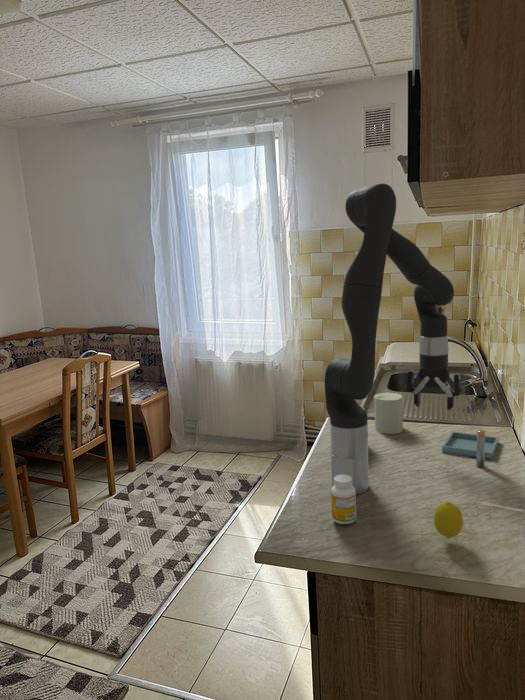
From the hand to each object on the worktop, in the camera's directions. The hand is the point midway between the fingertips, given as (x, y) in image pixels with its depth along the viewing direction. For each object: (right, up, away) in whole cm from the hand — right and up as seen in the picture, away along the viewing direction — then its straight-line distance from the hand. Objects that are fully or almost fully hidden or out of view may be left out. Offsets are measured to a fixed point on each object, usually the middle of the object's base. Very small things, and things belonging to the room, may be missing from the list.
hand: (433, 407), depth 144 cm
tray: (+13, -12, +6) cm, 19 cm away
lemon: (-10, -22, -39) cm, 46 cm away
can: (-7, -10, +24) cm, 27 cm away
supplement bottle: (-30, -22, -29) cm, 47 cm away
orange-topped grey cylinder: (+10, -15, -7) cm, 19 cm away
